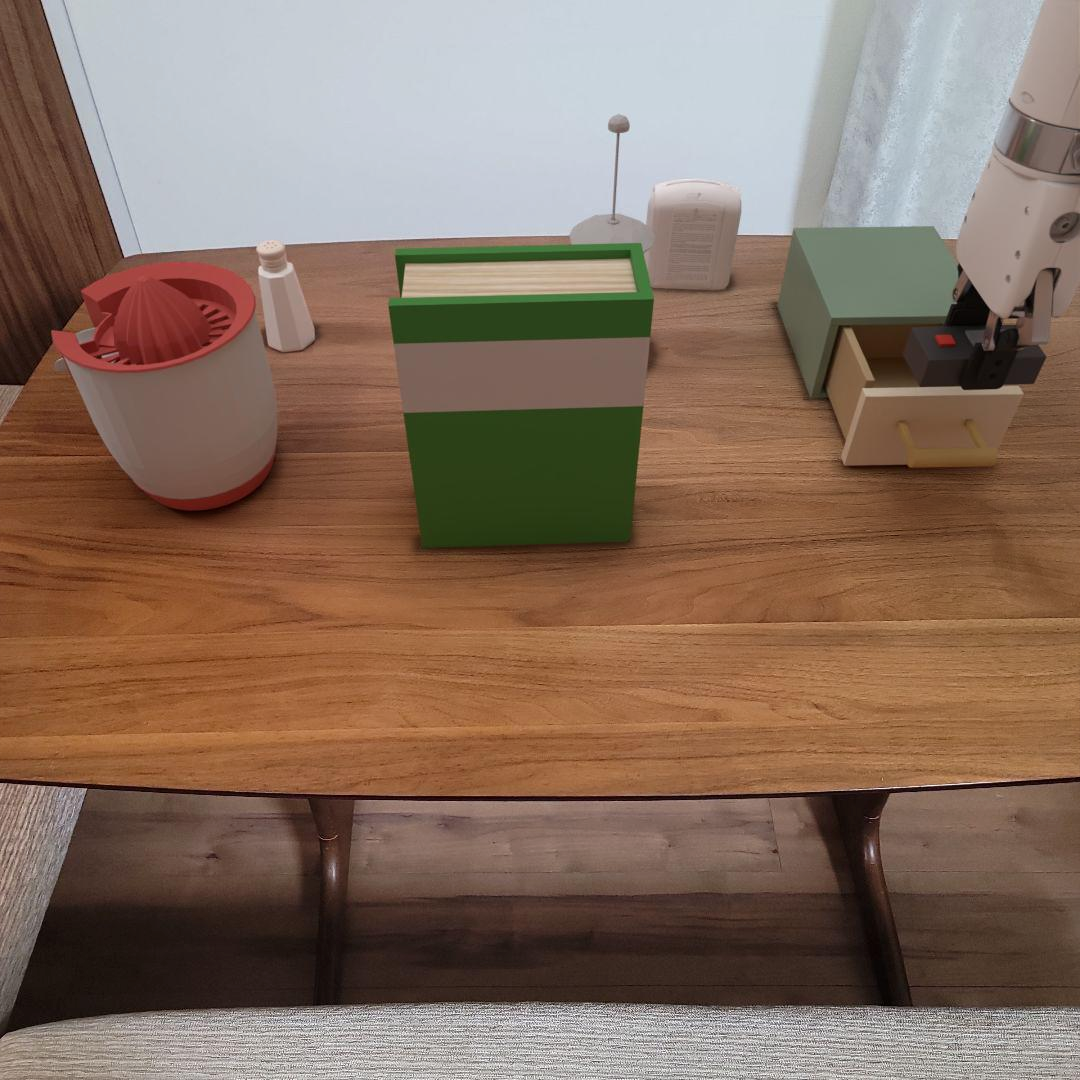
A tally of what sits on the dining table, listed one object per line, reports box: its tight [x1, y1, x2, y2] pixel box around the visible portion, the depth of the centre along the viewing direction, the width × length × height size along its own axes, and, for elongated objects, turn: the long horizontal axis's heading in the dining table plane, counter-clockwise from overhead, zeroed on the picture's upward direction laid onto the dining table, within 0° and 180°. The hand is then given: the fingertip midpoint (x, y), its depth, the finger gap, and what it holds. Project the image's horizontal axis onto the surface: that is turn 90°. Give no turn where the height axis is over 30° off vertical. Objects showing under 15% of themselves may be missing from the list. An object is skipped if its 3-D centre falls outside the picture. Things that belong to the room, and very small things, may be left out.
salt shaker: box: [255, 239, 316, 353], centre depth 96 cm, size 5×5×11 cm
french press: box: [568, 113, 655, 253], centre depth 88 cm, size 10×12×25 cm
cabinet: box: [776, 225, 959, 399], centre depth 95 cm, size 17×15×10 cm
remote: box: [903, 324, 1047, 387], centre depth 72 cm, size 9×4×3 cm, turn 92°
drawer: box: [823, 324, 1025, 468], centre depth 85 cm, size 21×14×8 cm, turn 1°
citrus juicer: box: [50, 261, 279, 512], centre depth 79 cm, size 16×17×20 cm
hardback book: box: [387, 243, 655, 549], centre depth 73 cm, size 18×7×24 cm, turn 92°
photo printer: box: [644, 177, 742, 291], centre depth 103 cm, size 10×4×12 cm, turn 86°
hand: (968, 365), depth 73 cm, fingers closed on remote, 4 cm apart
